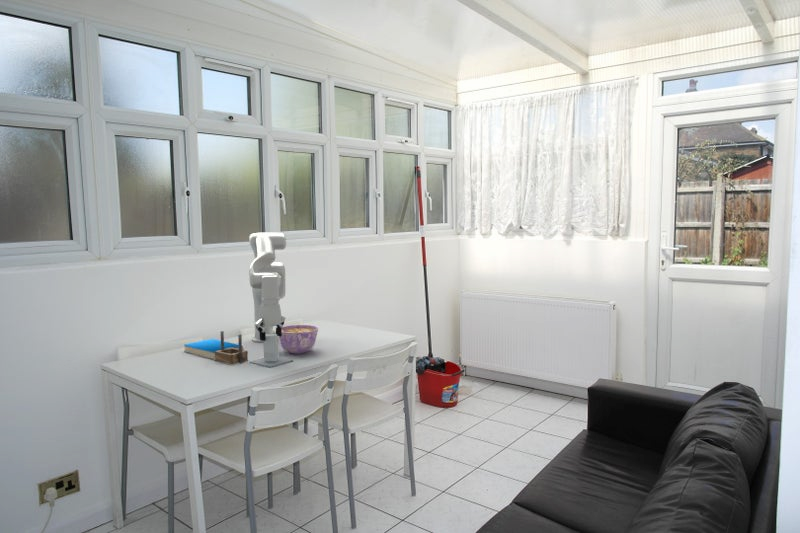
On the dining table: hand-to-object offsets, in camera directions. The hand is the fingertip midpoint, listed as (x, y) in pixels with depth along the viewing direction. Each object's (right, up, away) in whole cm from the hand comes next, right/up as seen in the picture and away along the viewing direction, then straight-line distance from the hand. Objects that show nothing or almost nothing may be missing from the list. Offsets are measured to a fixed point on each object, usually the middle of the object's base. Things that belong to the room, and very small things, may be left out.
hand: (270, 338), depth 250 cm
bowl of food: (+9, -10, +20) cm, 24 cm away
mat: (0, -11, 0) cm, 11 cm away
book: (-33, -10, +19) cm, 39 cm away
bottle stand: (-19, -11, +3) cm, 22 cm away
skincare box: (0, -11, 0) cm, 11 cm away
